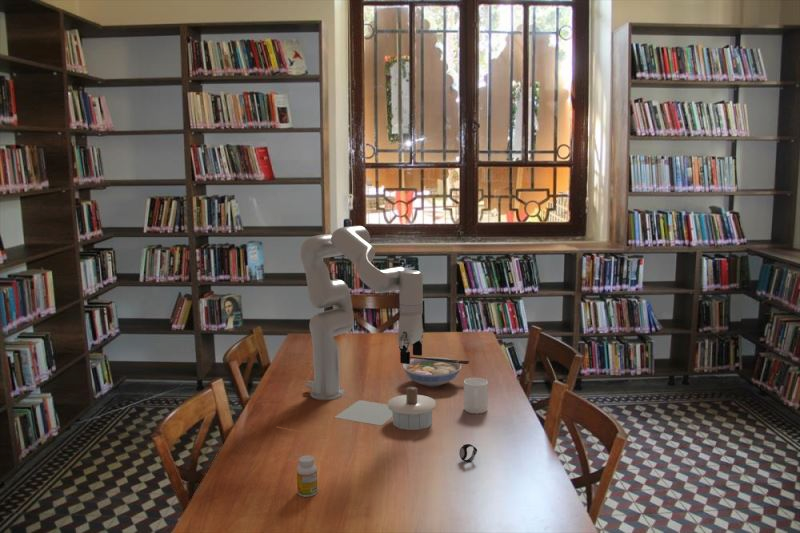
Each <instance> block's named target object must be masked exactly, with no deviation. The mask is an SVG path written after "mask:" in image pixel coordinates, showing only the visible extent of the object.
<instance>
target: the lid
mask: <svg viewBox="0 0 800 533" xmlns="http://www.w3.org/2000/svg"><path fill="white" fill-rule="evenodd" d="M405 390H406V392H405V394H402V395H397V396H394V397H392V398H390V399H389V400H388V402H387V405H388V408H389V409H390V410H391V411H393V412H395V413H399V414H405V415H418V414H424V413H428V412H431V411H432V412H433V411H434V410H435V409H436V407H437V402H436V400H435V399H434V398H432V397H430V396H426V395H422V394H418V387H416V386H407V387H405Z"/></svg>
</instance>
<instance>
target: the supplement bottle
mask: <svg viewBox="0 0 800 533" xmlns="http://www.w3.org/2000/svg"><path fill="white" fill-rule="evenodd" d="M296 484H297V485H296V487H297V488H296V491H297V494H298V495H299V496H300V497H304V498H309V497H313V496H316V495H317V493H318V492H319V491H318V490H319V488H318V467H317V465H316V464H315V457H314V456H312V455H307V454H306V455H303V456H300V457H299V459H298V466H296Z"/></svg>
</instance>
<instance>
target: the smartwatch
mask: <svg viewBox="0 0 800 533" xmlns="http://www.w3.org/2000/svg"><path fill="white" fill-rule="evenodd" d="M470 447H472V448H473V450H472V453H471V456H470V457H469V458H468V459H467V456H468V448H470ZM477 453H478V449H477V448H476V447H475V446H473V445H472V444H470V443H468V444H466V443H465V444H463V445H462V446H461V448H460V449H459V457H460V460H462V461H463V462H465V463H471V462H472V461H473V460H474V459H475V456H476V455H477Z"/></svg>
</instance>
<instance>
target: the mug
mask: <svg viewBox="0 0 800 533" xmlns="http://www.w3.org/2000/svg"><path fill="white" fill-rule="evenodd" d="M488 392H489V382H488V380H487V379H484V378H481V377H470V378H466V379H464V380H463V409H464V411H465V412H466V413H468V414H474V415H479V413H480V414H483V413H486V412H487V411H488V408H489V407H488V404H489V403H488V402H489V400H488V398H489V396H488Z"/></svg>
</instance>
